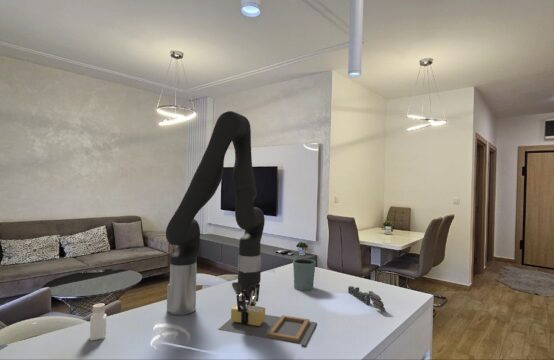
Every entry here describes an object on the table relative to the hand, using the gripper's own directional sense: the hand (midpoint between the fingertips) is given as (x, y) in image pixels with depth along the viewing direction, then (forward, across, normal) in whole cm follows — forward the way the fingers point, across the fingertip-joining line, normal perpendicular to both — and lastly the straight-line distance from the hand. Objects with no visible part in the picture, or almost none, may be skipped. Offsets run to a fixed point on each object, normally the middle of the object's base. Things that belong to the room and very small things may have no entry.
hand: (248, 319), depth 106 cm
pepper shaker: (+2, +24, -38) cm, 45 cm away
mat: (+1, 0, +7) cm, 7 cm away
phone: (+2, -32, -17) cm, 36 cm away
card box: (0, 0, 0) cm, 0 cm away
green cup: (+2, -43, +8) cm, 44 cm away
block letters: (+1, -34, +35) cm, 49 cm away
